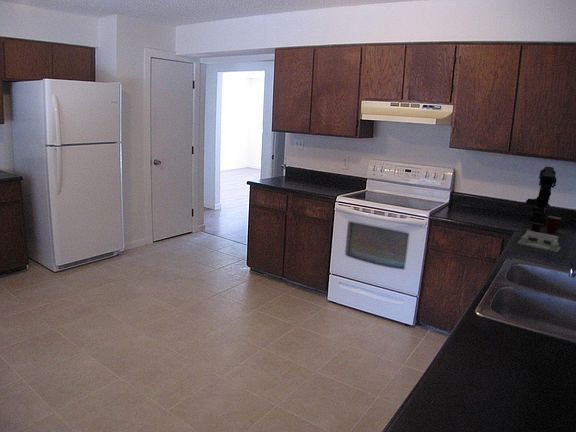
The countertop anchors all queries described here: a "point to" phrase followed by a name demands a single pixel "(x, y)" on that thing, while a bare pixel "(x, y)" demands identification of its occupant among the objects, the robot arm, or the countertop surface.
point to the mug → (552, 224)
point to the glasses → (541, 236)
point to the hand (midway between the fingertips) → (538, 221)
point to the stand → (539, 244)
